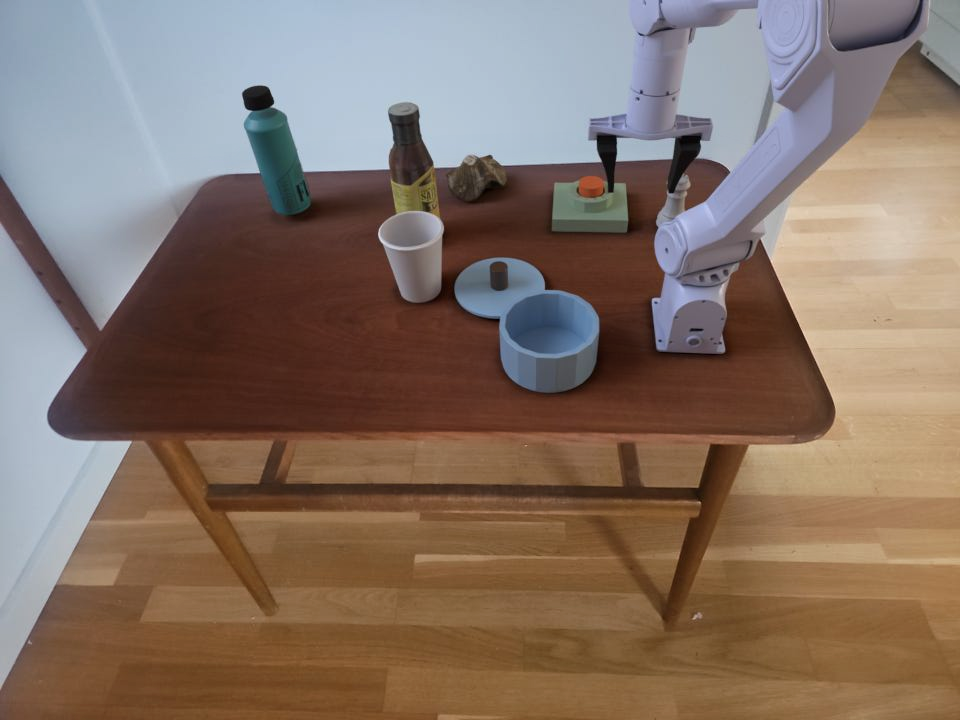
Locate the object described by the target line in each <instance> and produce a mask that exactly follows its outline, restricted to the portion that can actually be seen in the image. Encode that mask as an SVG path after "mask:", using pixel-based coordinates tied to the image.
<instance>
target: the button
mask: <svg viewBox="0 0 960 720" xmlns="http://www.w3.org/2000/svg"><path fill="white" fill-rule="evenodd" d="M579 180H580V181H579ZM579 180H578V181H579V191H578V193H579V195H580V196H582V197H585V198H596V197H599V196H601V195H602V194H603V184H604V182H603V181H604V179H602V178H601V177H599V176H596V175H587V176H583V177H581V178H580V179H579Z"/></svg>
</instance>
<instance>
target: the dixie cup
mask: <svg viewBox="0 0 960 720" xmlns="http://www.w3.org/2000/svg"><path fill="white" fill-rule="evenodd" d="M444 232H445V225H444V223H443V220H442V219H441V218H440V219H439V218H438V217H437V216H435V215H433V214H431V213H428V212H423V211H408V212H403V213H399V214H396V213H395V215H392V216H391V217H389V218H388V219H386V220H385V221H384V222H383V223H382V224H381V225H380V227H379V229H378V233H377V234H378V235H377V236H378V239H379V241H380V243H381V244H382V245H383V249H384V251H385V254H386V256H387V259H388V262H389V265H390V268H391V270H392V273H393V276H394V279H395V282H396V284H397V287H398V289H399V293H400V295H401V297H402V298H403V299H404V300H406V301H408V302H410V303H415V304H421V303H426V302H429V301H432V300H434V299H435V298H436V297H437V296H439V294H440V293H441V291H442V290H441V289H442V262H443V261H442V260H443V234H444Z"/></svg>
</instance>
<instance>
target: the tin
mask: <svg viewBox="0 0 960 720" xmlns="http://www.w3.org/2000/svg"><path fill="white" fill-rule="evenodd" d="M498 326H499V327H498V328H499V329H498V330H499V348H500V361H501V364H502V368H503V370H504V372H505V373H506V375H507V376H508V377H509V378H510V379H511V380H512V381H513V382H514V383H515V384H517V385H519V386H521V387H522V388H524V389H527V390H530V391H532V392H537V393H545V394H547V393H549V394H554V393H561V392H566V391H569V390H572V389H575V388H577V387H578V386H580V385H581V384H583V383H584V382H585V381H587V379H588V378H589V377H590V376H591V375H592V373H593V371H594V369H595V366H596V364H597V356H598V348H599V347H598V346H599V339H600V338H599V337H600V317H599V315H598V313H597V312H596V310H595V308H594V307H593V306H592V304H591V303H589V302H588V301H587V300H585V299H583V298H582V297H580V296H579V295H577V294H574V293H570V292H567V291H564V290H560V289H558V290H557V289H552V290H551V289H545V290H539V291H535V292H531V293H527V294H524V295H522V296H520V297H518V298H517V299H515V300H513V301H512V302H510V303H509V304H508V306H507V307H506V308H505V310H504V311H503V312H502V314H501V318H500V319H499V325H498Z"/></svg>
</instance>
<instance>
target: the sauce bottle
mask: <svg viewBox="0 0 960 720" xmlns="http://www.w3.org/2000/svg"><path fill="white" fill-rule="evenodd" d="M387 116H388V120H389V123H390V125H391V131H392V141H393V144H392V147H391V149H390V151H389V154H388V167H389V173H390V174H389V177H390V184H391V189H392V191H391V192H392V195H393V202H394V209H395V215H396V214H399V213H403V212H408V211H423V212H428V213H431V214H433V215H435V216H437V217H438V218H439V219H440V220H441V215H440V207H439V197H438V190H437V189H438V188H437V181H436V172H435V163H434V160H433V158H432V156H431V154H430V152H429V150H428V148H427V146H426V143H425V142H424V140H423V135H422V133H421V123H420V119H421V114H420V107H419V106H418V104H416V103H413V102H408V101H405V102H398V103H396V104H392V105H391V106H390V107H389V108H388V110H387Z"/></svg>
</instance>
